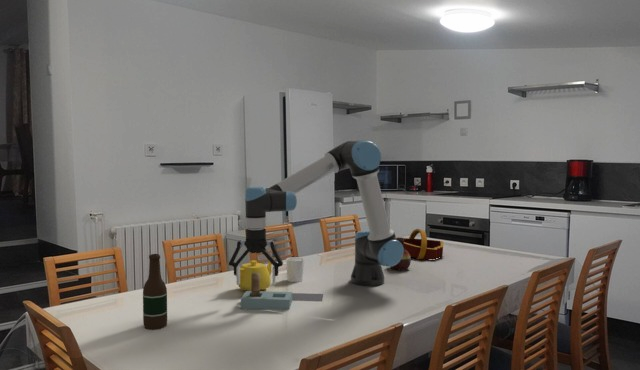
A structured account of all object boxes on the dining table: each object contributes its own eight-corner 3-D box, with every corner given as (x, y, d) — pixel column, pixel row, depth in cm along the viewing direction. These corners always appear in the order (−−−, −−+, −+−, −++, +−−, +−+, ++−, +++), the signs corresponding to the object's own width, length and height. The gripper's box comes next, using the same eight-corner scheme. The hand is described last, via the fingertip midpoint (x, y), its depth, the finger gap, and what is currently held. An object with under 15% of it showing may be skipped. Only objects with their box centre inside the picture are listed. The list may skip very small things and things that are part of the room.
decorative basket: (447, 265, 273) (452, 238, 272) (393, 256, 274) (398, 229, 273) (435, 253, 306) (439, 229, 306) (387, 245, 307) (391, 221, 306)
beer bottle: (146, 322, 172) (145, 252, 171) (169, 321, 173) (169, 252, 171) (140, 330, 164) (139, 257, 163) (164, 329, 165) (164, 257, 163)
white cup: (301, 283, 224) (301, 261, 223) (284, 282, 225) (284, 260, 225) (305, 279, 232) (305, 257, 231) (288, 278, 233) (288, 256, 232)
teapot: (283, 289, 215) (283, 260, 214) (244, 297, 202) (244, 267, 201) (265, 282, 225) (265, 254, 224) (226, 290, 212) (225, 261, 211)
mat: (323, 294, 207) (323, 293, 207) (322, 302, 197) (322, 301, 197) (289, 293, 208) (289, 293, 208) (286, 301, 198) (286, 300, 198)
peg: (260, 304, 193) (261, 273, 192) (256, 306, 190) (257, 275, 189) (253, 303, 194) (254, 272, 194) (249, 305, 191) (250, 274, 191)
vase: (385, 269, 252) (386, 239, 251) (391, 265, 262) (391, 235, 261) (407, 272, 248) (408, 240, 246) (412, 267, 258) (413, 237, 257)
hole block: (292, 302, 197) (292, 292, 196) (289, 310, 187) (289, 299, 186) (246, 301, 197) (246, 290, 197) (240, 309, 188) (240, 298, 187)
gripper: (289, 227, 193) (290, 281, 195) (225, 226, 195) (225, 280, 196) (287, 230, 186) (287, 287, 188) (220, 229, 187) (221, 286, 189)
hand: (256, 284), depth 192 cm, fingers open, 13 cm apart
